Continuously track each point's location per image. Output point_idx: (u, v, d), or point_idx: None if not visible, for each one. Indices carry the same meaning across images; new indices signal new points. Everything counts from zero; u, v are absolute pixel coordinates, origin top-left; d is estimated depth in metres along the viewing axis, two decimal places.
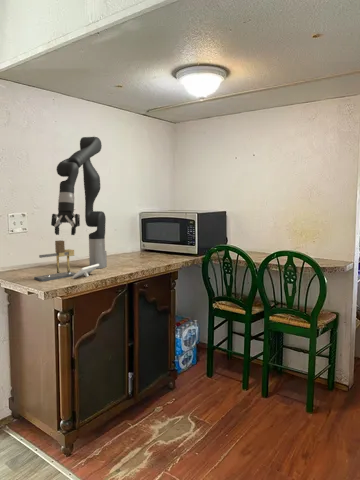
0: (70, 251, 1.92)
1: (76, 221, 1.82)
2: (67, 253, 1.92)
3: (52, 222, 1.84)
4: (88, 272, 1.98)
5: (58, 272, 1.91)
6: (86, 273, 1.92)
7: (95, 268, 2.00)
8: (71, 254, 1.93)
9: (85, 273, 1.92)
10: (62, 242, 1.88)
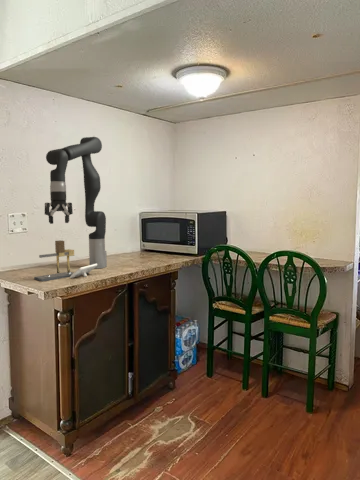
0: (70, 251, 1.92)
1: (71, 209, 1.91)
2: (67, 253, 1.92)
3: (48, 211, 1.81)
4: (86, 272, 1.99)
5: (58, 272, 1.91)
6: (84, 273, 1.93)
7: (93, 268, 2.00)
8: (71, 254, 1.93)
9: (83, 273, 1.93)
10: (62, 242, 1.88)
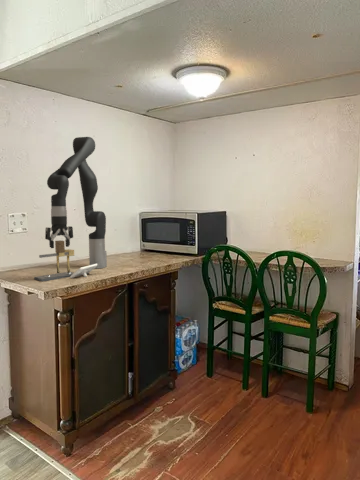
0: (70, 251, 1.92)
1: (72, 233, 1.92)
2: (67, 253, 1.92)
3: (49, 236, 1.83)
4: (86, 272, 1.99)
5: (58, 272, 1.91)
6: (84, 273, 1.93)
7: (93, 268, 2.00)
8: (71, 254, 1.93)
9: (83, 273, 1.93)
10: (62, 242, 1.88)
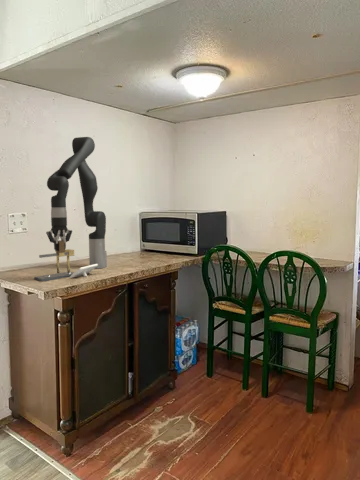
0: (70, 251, 1.92)
1: (69, 237, 1.91)
2: (67, 253, 1.92)
3: (52, 239, 1.84)
4: (87, 272, 1.99)
5: (58, 272, 1.91)
6: (84, 273, 1.93)
7: (93, 268, 2.00)
8: (71, 254, 1.93)
9: (83, 273, 1.93)
10: (62, 242, 1.88)
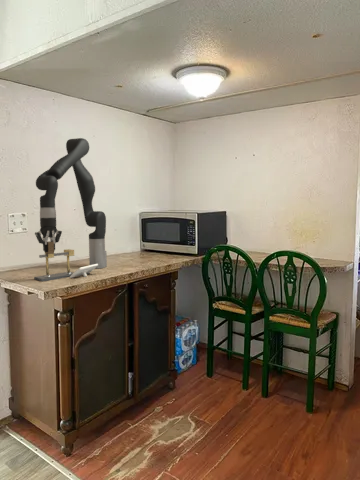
0: (70, 251, 1.92)
1: (58, 238, 1.87)
2: (67, 253, 1.92)
3: (41, 240, 1.80)
4: (87, 272, 1.99)
5: (47, 274, 1.87)
6: (84, 273, 1.93)
7: (94, 268, 2.00)
8: (71, 254, 1.93)
9: (83, 273, 1.93)
10: (51, 243, 1.83)
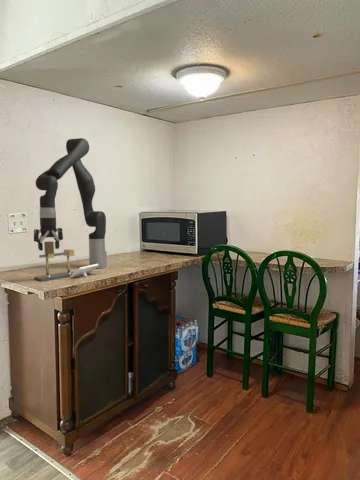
0: (70, 251, 1.92)
1: (61, 235, 1.88)
2: (67, 253, 1.92)
3: (37, 238, 1.78)
4: (87, 272, 1.99)
5: (47, 274, 1.87)
6: (84, 273, 1.93)
7: (94, 268, 2.00)
8: (71, 254, 1.93)
9: (83, 273, 1.93)
10: (51, 243, 1.83)
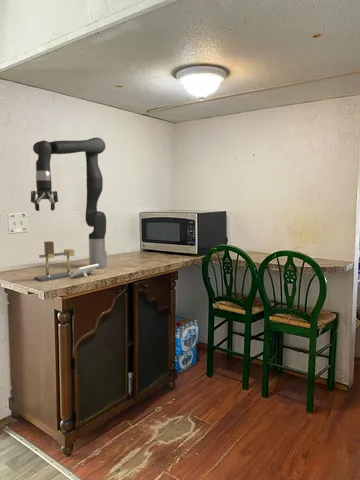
0: (70, 251, 1.92)
1: (56, 198, 2.01)
2: (67, 253, 1.92)
3: (34, 199, 1.91)
4: (87, 272, 1.99)
5: (47, 274, 1.87)
6: (84, 273, 1.93)
7: (95, 268, 2.00)
8: (71, 254, 1.93)
9: (83, 273, 1.93)
10: (51, 243, 1.83)
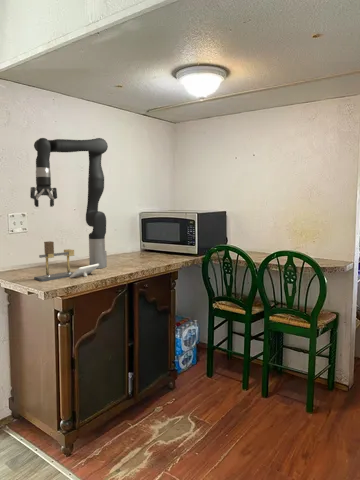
0: (70, 251, 1.92)
1: (56, 194, 2.05)
2: (67, 253, 1.92)
3: (33, 195, 1.96)
4: (88, 272, 1.99)
5: (47, 274, 1.87)
6: (84, 273, 1.93)
7: (95, 268, 2.00)
8: (71, 254, 1.93)
9: (83, 273, 1.93)
10: (51, 243, 1.83)
